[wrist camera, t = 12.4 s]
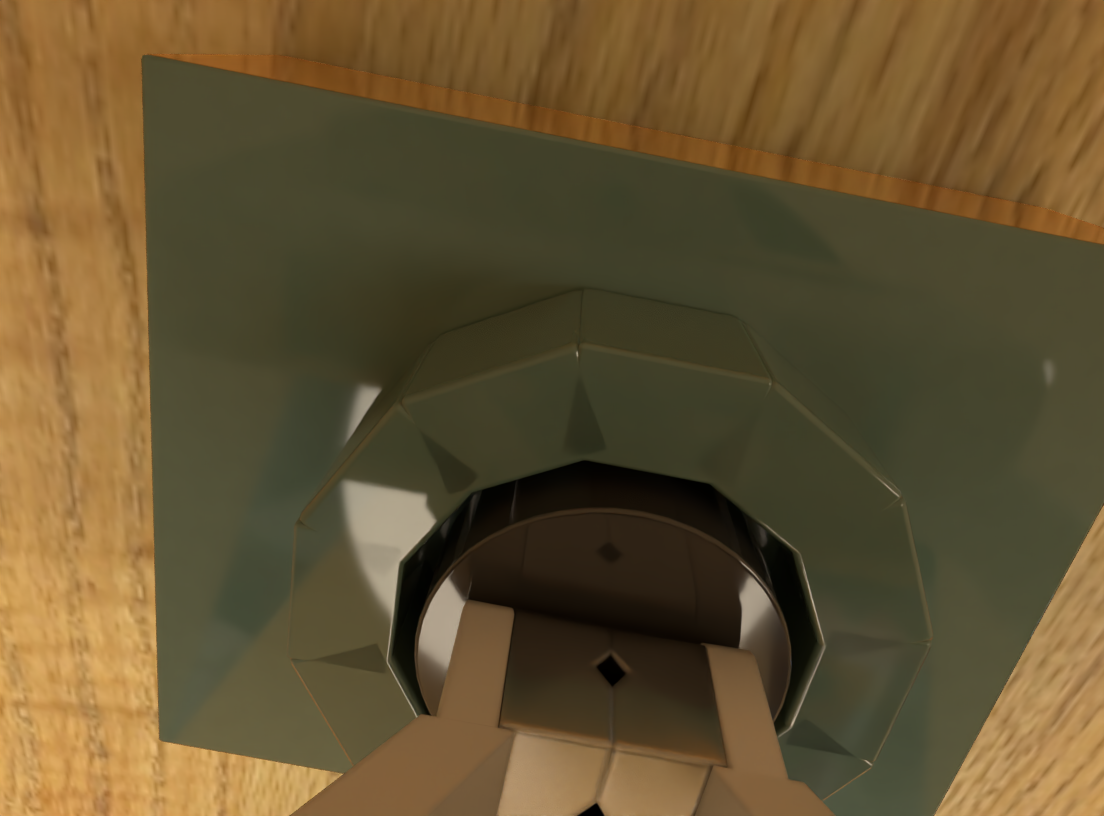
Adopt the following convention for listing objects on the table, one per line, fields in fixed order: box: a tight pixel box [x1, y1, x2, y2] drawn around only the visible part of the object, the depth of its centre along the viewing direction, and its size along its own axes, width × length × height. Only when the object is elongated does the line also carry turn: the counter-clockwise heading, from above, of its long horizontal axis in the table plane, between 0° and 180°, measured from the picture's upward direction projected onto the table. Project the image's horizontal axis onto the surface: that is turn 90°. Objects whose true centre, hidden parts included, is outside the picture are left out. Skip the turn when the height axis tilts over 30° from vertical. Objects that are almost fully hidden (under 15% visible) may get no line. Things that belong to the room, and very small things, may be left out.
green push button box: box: [141, 54, 1104, 816], centre depth 11 cm, size 12×10×6 cm
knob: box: [414, 460, 792, 724], centre depth 9 cm, size 4×4×2 cm
